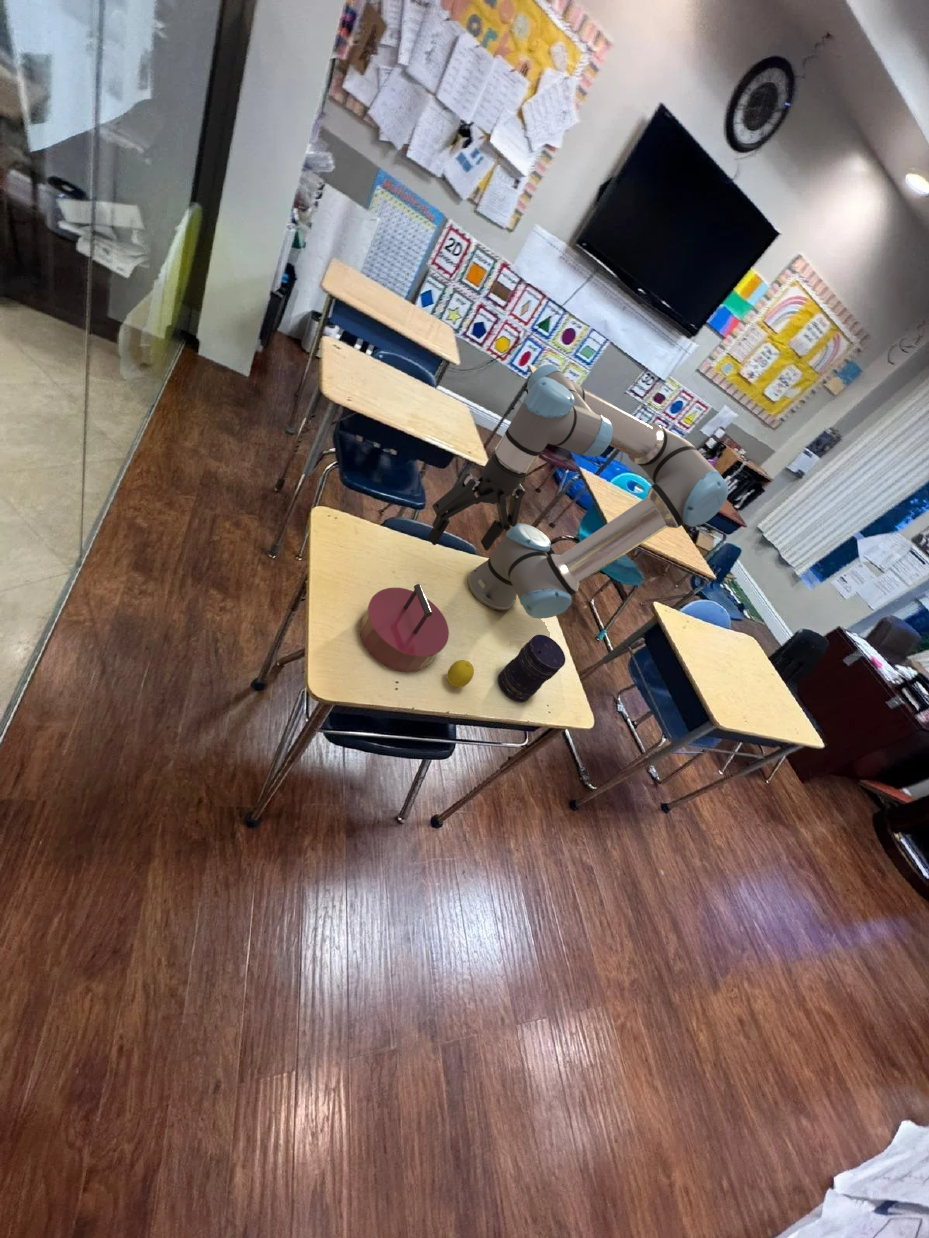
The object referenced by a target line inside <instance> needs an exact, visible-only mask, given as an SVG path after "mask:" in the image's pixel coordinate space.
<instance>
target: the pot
mask: <svg viewBox="0 0 929 1238" xmlns="http://www.w3.org/2000/svg"><path fill="white" fill-rule="evenodd" d="M359 634H360V639H361V642H362V644H363V646H364V648H365V649H366V651H367V652H368V653H369V655H370V656H371V657H372V658H373V659H374V660H375V661H377V662H378V663H379V664H381V665H382V666H385V668H389V669H391V670H394V671H397V672H403V673H415V672H419V671H421V670H423V669H425V668H426V667H427V666H429V665H430V664H431V662H433V660H434V659H435V658H436V656H437V655H438V653H437V654H435V655H433V656H429V657H413V656H408V655H405V654H402V653H400V652H398V651H396V650H394V649H392V648H391V647H389V646H388V645H387V644H385V643H384V642H383V641H382V640H381V639H380V638H379V637H378V636H377V634H376V633H375V632H374V630H373V628H372V627H371V624H370V622H369V618H368V610H367V611H366V613H365V614H364V616H363V618H362V620H361V622H360V626H359Z"/></svg>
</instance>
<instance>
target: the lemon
mask: <svg viewBox="0 0 929 1238" xmlns="http://www.w3.org/2000/svg"><path fill="white" fill-rule="evenodd" d="M474 673H475V670H474V666H473V664H472V663H471V662H469V661H468V660H466V659H459V660H457V661H455V662H454V663H453V664H452V665H450V667H449V668H448V670H447V674H446V677H447V680H448V683H449V684H450V685H451V686H453V687H455V688H463V687H465V686H467V685H468V684H470V682H471V681H472V680H473V677H474Z"/></svg>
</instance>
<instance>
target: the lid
mask: <svg viewBox="0 0 929 1238" xmlns="http://www.w3.org/2000/svg"><path fill="white" fill-rule="evenodd" d="M367 611H368V618H369V622H370V624H371V627H372V628H373V630H374V632H375V633H376V634H377V636H378V637H379V638H380V639H381V640H382V641H383V642H384V643H385V644H387V645H388V646H389V647H391V648H392V649H394V650H396V651H398V652H400V653H402V654H405V655H408V656H413V657H429V656H433V655H435V654H437V655H438V654H439V653H440V652H442V651H443V649H444V648H445V647H446V645H447V644H448V641H449V637H450V629H449V626H448V622H447V620H446V618H445V616H444V614H443V613H442V611H441V609H439V607H438V606H436V604H435V603H433V602H432V601H431V600H430V599H429V598H427V596H426V594H425V592H424V589H423V587H422V585H421V584H420V583H416V584H415V585H413V590H411V589H408V588H404V587H386V588H383V589H381V590H379V591H377V592H376V593H375V594H374V595H373V596H372V597H371V599H370V600H369V603H368V606H367Z"/></svg>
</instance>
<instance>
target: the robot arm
mask: <svg viewBox="0 0 929 1238" xmlns="http://www.w3.org/2000/svg"><path fill="white" fill-rule="evenodd" d="M526 389H527V394H526V395H525V396H524V397H523V398H524V399H523V400H522V402H521V404H520V406H519V407H518V409H517V410H516V413H515V415H514V417H513V418H512V420H511V421H510V423H509V425H508V427H507V428H506V430H505V432H504V433H503V435H502V436H501V438H500V440H499V442H498V443H497V445H496V447H495V448H494V449H495V450H494V451H493V452H492V453H491V454H490V456H489V458H488V460H487V461H486V463H485V465H484V467H483V472H482V474H481V476H479V477H474V476H473V475H472V474H471V472H467V473H466V474H465V475H464V476H463V478H462V479H461V481H459V482H458V483H457V484H456V485H455V486H453V487H452V488H451V489H450V490H449V491H448V492H446V493H445V494H444V495H443V496H441V497H440V498H439V499H438V500H437V501H435V502H434V503H433V504H432V506H431V507H432V509H433V511H434V513H435V515H436V517H435V518H434V520H433V522H432V528H431V530H430V532H429V534H428V538H429V540H430V542H431V545H432V546H436V545H438V543H439V541H440V539H441V537H442V536H443V534H444V532H445V531H446V529H447V528H448V526H449V524H450V522H451V521H450V518H452V517H454V516H455V515H458V514H459V513H461V512H463V511H465V510H466V509H468V508H469V507H471V506H473V505H479V504H481V503H483V504H490V505H495V504H496V505H495V506H496V510H497V515H498V519H494V520H493V522H492V523H491V525H490V527H489V528H488V529H487V531H486V533H485V534H484V535H483V537H482V538H481V540H480V544H481V545H482V547H483V549H484V550H485V551H489V550H490V548H491V547H492V545H493V544H494V543H495V541H496V540H497V539H498V538H500V536H501V535H502V533H504V531H505V535H504V536H503V537H502V539H501V540H500V542H499V543H498V544H497V546H496V548H495V549H494V550H493V552H492V553H491V554H490V556H489V558H488V559H487V560H486V561H483V562H482V563H480V565H478V566H477V567H475V568H474V569H473V570H472V571H471V572H470V573H469V575H468V577H467V586H468V589H469V590H470V592H471V594H472V596H474V598H475V599H476V600H477V601H479V603H481V604H482V605H484V606H485V607H487V608H488V609H489V608H490V609H492V610H495V611H507V610H509V609H511V607H512V606H513V605H514V604H515V602H516V600H517V597H518V600H519V603H520V605H521V606H522V607H523V609H524V611H525V613H526V614H527V615H528V616H530V617H531V618H533V619H538V620H539V619H551V618H553V617H557V616H559V615H561V614H563V613H564V612H566V611H567V610H568V609H569V607H571V605H572V602H573V601H572V599H573V598H572V596H573V595H575V594H577V593H578V592H579V588H580V584H581V583H583V582H584V581H585V580H588V579H589V578H590V577H592V576H593V575H595V574H596V573H598V572H600V571H601V570H602V569H605V568H606V567H607V566H609V565H611V564H612V563H614V562H615V561H617V560H618V559H620V558H621V557H623V556H624V555H626V554H627V553H630V552H631V551H632V550H634V549H636V548H638V546H640V545H642V544H643V543H645V542H647V541H648V540H649V539H651V538H652V537H654V536H655V535H657V534H659V533H660V532H662V531H664V530H665V529H666V528H671V529H678V528H680V527H681V526H683V525H686V526H689V527H691V528H692V527H697V526H701V525H703V524H705V523H707V522H708V521H710V520H711V519H712V518H713V517H714V516H716V515H717V514H718V513H719V511H721V509H722V508H723V506H724V504H725V503H726V502H727V499H728V496H729V486H728V485H729V484H728V483H727V482H726V480H725V479H724V478H723V476H722V475H721V474H720V471H719V470H717V469H716V468H715V467H714V466H713V465H712V464H711V463H710V462H709V461H708V460H707V459H706V457H704V455H702V454H701V452H700V451H699V450H698V449H697V448H696V447H695V446H694V445H693V444H692V443H691V442H690V441H688V440H686V439H685V438H684V437H682V436H679V435H678V434H677V433H674V432H672V431H671V430H669V429H667V428H665V427H663V426H661V425H660V424H658V423H656V422H647V423H646V422H645V421H643V420H641V419H639V418H637V417H636V416H634V415H632V414H630V413H628V412H627V411H625V410H624V409H622V408H620V407H618V406H616V405H614V404H613V403H611V402H609V401H608V400H605V399H604V398H602V397H600V396H599V395H598V394H597V395H596V394H595V393H593V392H592V391H590V390H588V389H586V388H584V387H583V386H580V385H579V384H577V383H576V382H574V381H573V380H571V379H569V378H567V376H566V375H565V374H564V372H563V371H562V370H560V369H559V368H558V367H557V366H556V365H553V364H543V365H541V366H539V367H538V368H536V369H535V370H534V371H533V372H532V374H530V377H529V379H528V381H527V388H526ZM547 445H551V446H554V447H558V448H561V449H563V450H567V451H569V452H571V453H575V454H576V455H578V456H586V457H588V458H595V457H598V456H600V455H602V454H603V453H604V452H605V451H606V450H607V448H608V447H609V446H610V447H612V448H614V449H616V450H618V451H620V452H621V453H624V454H626V455H627V456H628V458H629V460H630V461H631V462H632V463H634V464H636V465H637V466H639V467H640V468H641V469H642V470H643V471H644V472H645V473H646V475H647V476H648V477H649V479H650V480H651V481H652V482H653V484H652V485H651V486H649V487H648V491H647V495H646V497H644V498H643V499H641V500H640V501H638V502H637V503H635V504H634V505H632V506H631V507H630V508H628V509H627V510H625V511H624V512H622V513H621V514H619V515H618V516H616V517H614V518H613V519H612V520H610V521H609V522H608V523H606V524H604V525H603V526H601V527H600V528H599V529H597V530H596V531H594V532H593V533H590V534H589V535H588V536H587V537H585V538H584V539H582V540H581V541H579V542H578V543H576V544H575V545H574V546H572V547H570V548H569V549H567V550H566V551H565V552H563V553H561V554H556V553H550V554H549V555H548V552H550V550H551V548H552V542H551V540H550V539H549V537H548V536H547V535H546V534H545V533H544V532H542V531H541V530H540V529H538V528H536V527H535V526H532V525H530V524H527V523H520V522H519V523H518V521H519V520H518V519H519V515H520V509H521V504H522V500H523V498H524V496H525V495H526V490H525V488H523V486H522V484H521V483H522V482H523V481H524V479H525V477H526V476H527V473H529V472H530V470H531V469H532V467H533V466H534V464H535V463H536V461H537V460H538V458H539V456H540V455H541V454H542V452H543V451H544V450H545V449H546V447H547ZM475 493H476V495H475ZM509 496H510V498H509V502H508V503H509V504H508V505H507V498H508V497H509ZM507 506H508V509H507Z"/></svg>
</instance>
